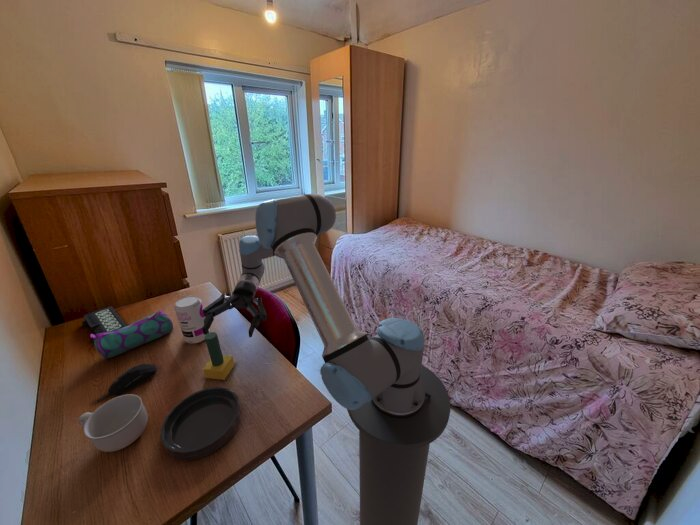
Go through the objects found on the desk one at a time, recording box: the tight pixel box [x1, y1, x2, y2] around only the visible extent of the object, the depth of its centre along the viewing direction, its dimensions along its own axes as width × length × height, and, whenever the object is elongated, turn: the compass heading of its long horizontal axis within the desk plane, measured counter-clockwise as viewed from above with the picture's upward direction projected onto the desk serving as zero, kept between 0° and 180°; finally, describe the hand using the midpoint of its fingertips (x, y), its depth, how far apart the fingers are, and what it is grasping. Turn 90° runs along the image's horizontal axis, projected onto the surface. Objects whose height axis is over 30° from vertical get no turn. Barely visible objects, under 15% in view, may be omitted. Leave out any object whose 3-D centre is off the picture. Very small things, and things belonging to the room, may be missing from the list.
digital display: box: [81, 306, 128, 342], centre depth 107 cm, size 21×3×10 cm
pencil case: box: [89, 310, 174, 360], centre depth 96 cm, size 21×9×10 cm, turn 138°
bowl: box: [159, 386, 243, 462], centre depth 70 cm, size 17×17×4 cm
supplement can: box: [174, 295, 211, 344], centre depth 98 cm, size 8×8×15 cm
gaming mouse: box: [96, 363, 158, 402], centre depth 82 cm, size 6×15×4 cm, turn 142°
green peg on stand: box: [202, 331, 236, 381], centre depth 84 cm, size 6×6×14 cm
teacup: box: [77, 393, 149, 453], centre depth 67 cm, size 14×11×8 cm
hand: (227, 333), depth 87 cm, fingers open, 13 cm apart
